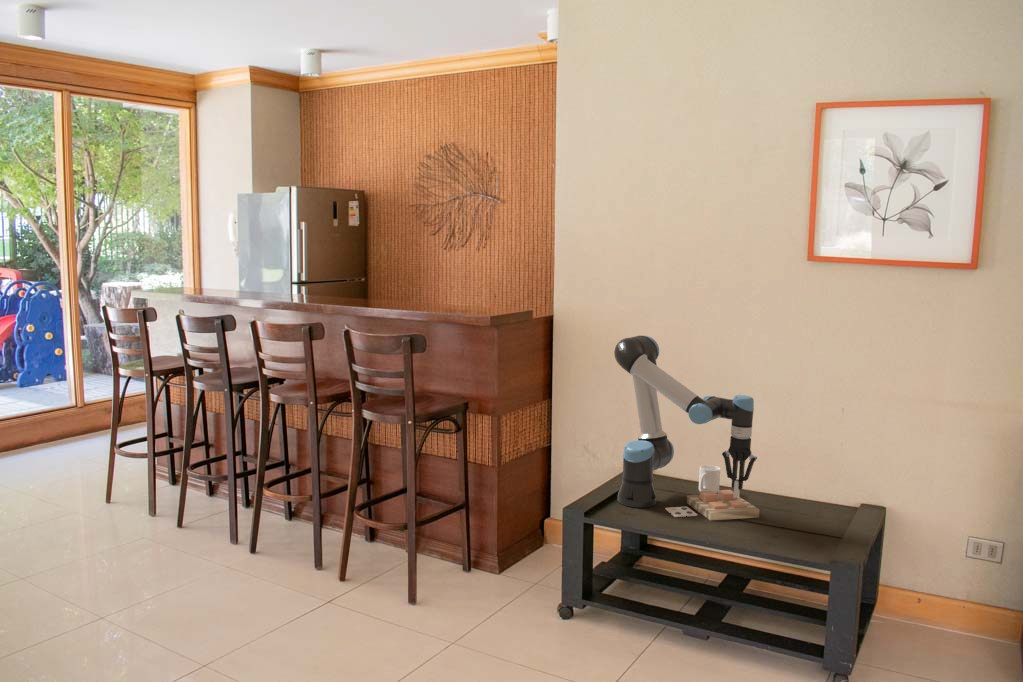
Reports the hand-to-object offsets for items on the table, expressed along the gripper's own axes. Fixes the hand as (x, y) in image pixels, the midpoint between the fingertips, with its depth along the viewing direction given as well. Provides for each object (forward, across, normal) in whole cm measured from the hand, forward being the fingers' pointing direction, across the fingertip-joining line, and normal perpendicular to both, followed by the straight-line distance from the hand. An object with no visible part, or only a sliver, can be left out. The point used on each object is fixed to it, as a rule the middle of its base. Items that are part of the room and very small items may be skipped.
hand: (736, 496), depth 313 cm
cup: (+7, -17, +18) cm, 25 cm away
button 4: (+6, +1, 0) cm, 6 cm away
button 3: (+4, -5, +6) cm, 9 cm away
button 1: (+4, -11, 0) cm, 12 cm away
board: (+6, -5, 0) cm, 8 cm away
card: (+7, -17, -12) cm, 22 cm away
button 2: (+6, -5, -6) cm, 10 cm away
